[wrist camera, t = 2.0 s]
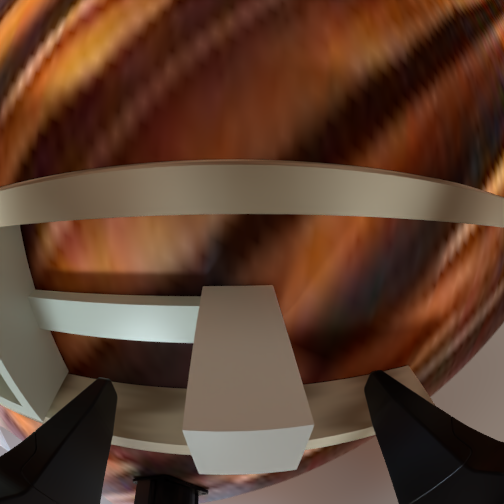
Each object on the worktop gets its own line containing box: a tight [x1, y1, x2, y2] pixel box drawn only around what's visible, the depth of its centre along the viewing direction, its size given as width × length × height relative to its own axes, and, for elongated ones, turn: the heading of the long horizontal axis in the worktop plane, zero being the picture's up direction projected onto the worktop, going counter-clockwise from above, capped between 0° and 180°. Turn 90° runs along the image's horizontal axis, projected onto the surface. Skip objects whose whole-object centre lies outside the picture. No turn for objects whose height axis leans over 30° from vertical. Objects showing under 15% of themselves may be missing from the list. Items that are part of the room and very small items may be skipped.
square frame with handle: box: [0, 225, 315, 475], centre depth 8 cm, size 22×10×7 cm, turn 89°
